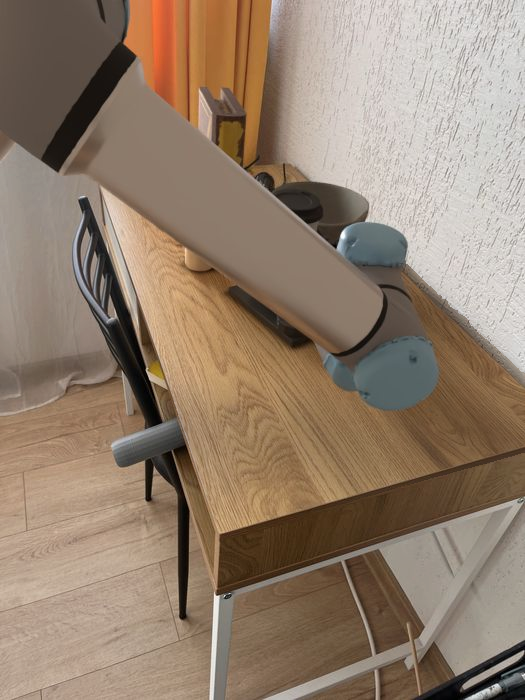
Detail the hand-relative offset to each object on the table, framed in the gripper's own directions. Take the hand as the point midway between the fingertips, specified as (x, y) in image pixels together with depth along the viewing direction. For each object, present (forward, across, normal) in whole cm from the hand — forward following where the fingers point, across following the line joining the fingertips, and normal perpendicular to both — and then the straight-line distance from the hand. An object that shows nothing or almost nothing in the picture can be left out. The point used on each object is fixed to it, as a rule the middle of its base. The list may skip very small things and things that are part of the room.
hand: (283, 226), depth 90 cm
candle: (+9, -13, -12) cm, 20 cm away
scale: (-7, +1, -12) cm, 14 cm away
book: (+29, -7, -12) cm, 32 cm away
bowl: (+16, +12, -13) cm, 24 cm away
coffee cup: (-5, 0, -8) cm, 9 cm away
